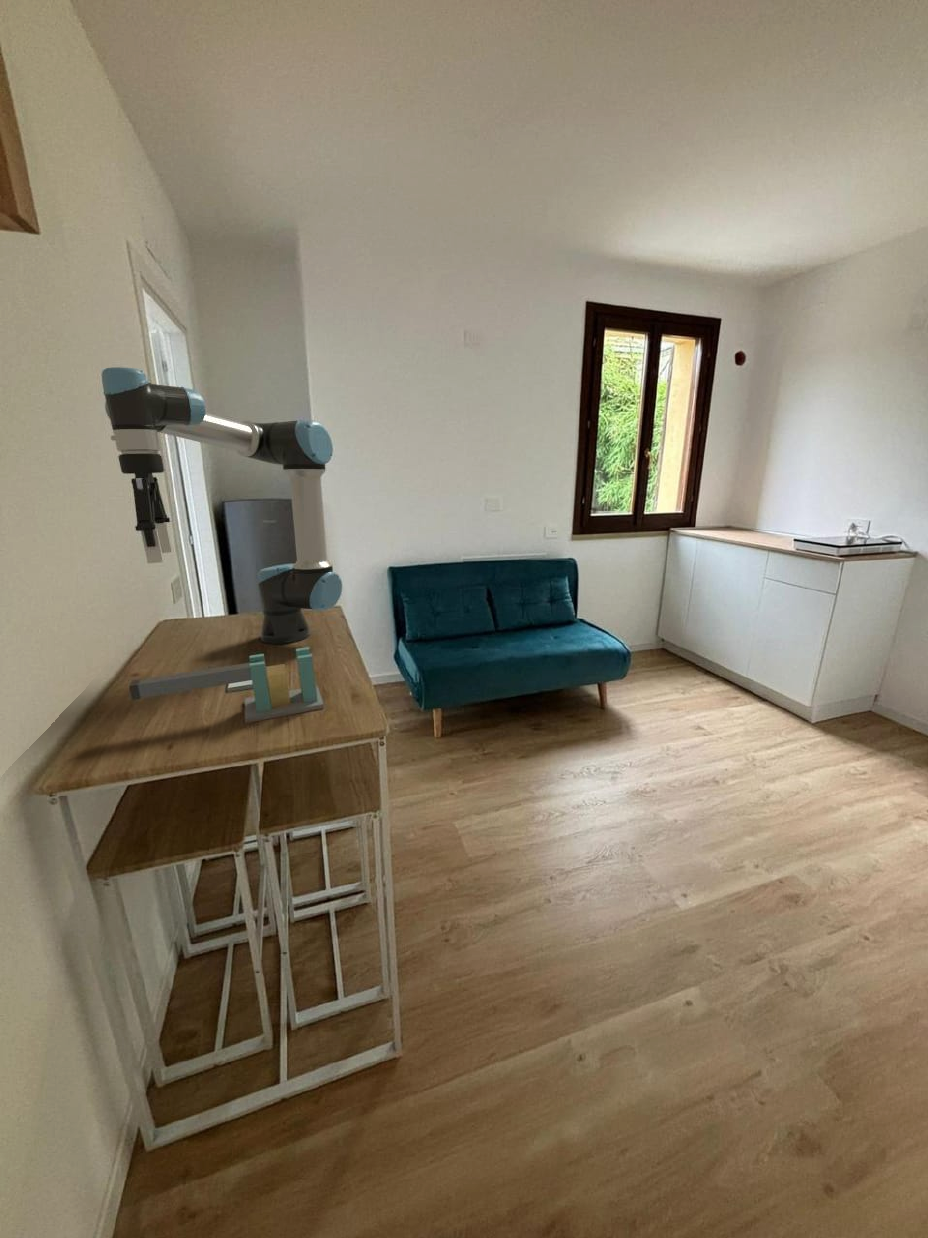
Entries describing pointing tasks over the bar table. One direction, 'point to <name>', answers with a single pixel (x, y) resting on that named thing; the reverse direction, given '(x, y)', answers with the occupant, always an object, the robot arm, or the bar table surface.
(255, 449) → the robot arm
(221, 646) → the bar table surface
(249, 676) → the shaft
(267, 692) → the block
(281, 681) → the block
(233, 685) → the hard drive
